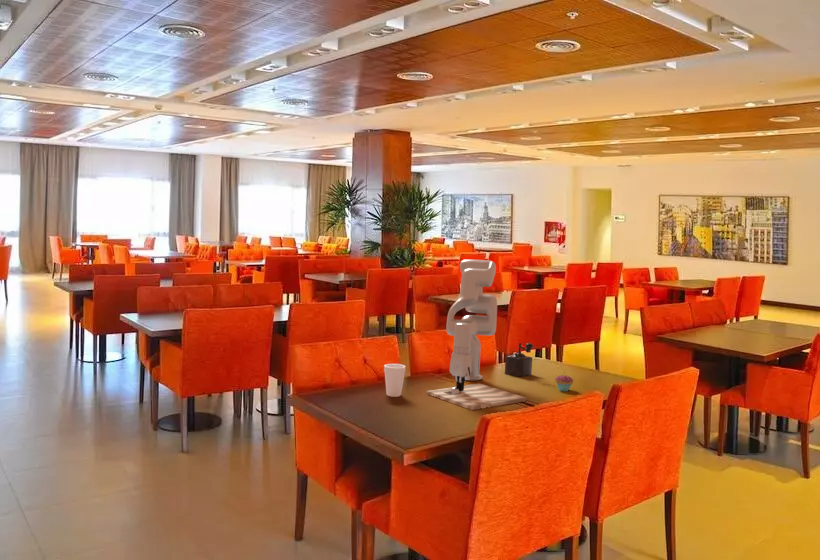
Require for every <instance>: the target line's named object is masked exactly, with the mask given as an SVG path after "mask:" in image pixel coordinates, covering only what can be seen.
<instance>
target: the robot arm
mask: <svg viewBox="0 0 820 560" xmlns="http://www.w3.org/2000/svg"><path fill="white" fill-rule="evenodd" d="M459 269H460V273H461V281H460V289H459V298H458V299H457V300H456V301H455V302H454V303H453V304H452V305H451V307H450V308H449V310H448V313H447V319H446V328H445V330H446V333H447V335H449V336H453V348H452V349H453V351H451V352H452V353H451V356H450V362H449V373H450V374H451V375H452V377H454V379H455V383H456V384H455V385H456V386H455V387H456V388H458V389H459V391H464V386H465V382H466V381H473V382H474V381H480V380H482V379H483V375H481V374H480V366H481V365H480V364H481V351H482V350H481V347H482V344H481V341H480V339H479V337H478V336H494V335H495V334H496V332H497V323H498V322H497V317H498V316H497V315H498V300H497V297H496V296H495V295H494V294H488V293H484V291H483V288H490V287H491V286H492V285H493V283H494V279H495V276H496V272H497V271H496V270H497V266H496V262H494V261H492V260H489V259H486V260H484V259H473V258H472V259H463V260H461V261H460V262H459ZM464 308H465V311H466V312H469V313H473V314H467V315H464V316H463V317H462V318H461V319H457V318H456V319H455V315H456V313H457V312H459V311H460V310H462V309H464ZM475 313H476V314H475ZM477 314H485V315H477Z"/></svg>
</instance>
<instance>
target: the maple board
mask: <svg viewBox="0 0 820 560" xmlns="http://www.w3.org/2000/svg"><path fill="white" fill-rule="evenodd" d="M454 387H455V388H456V386H454ZM454 387H446V388H438V389H433V390H432V389H429V390H426V395H428V396H430V395H431V397H433V396H434V398H436V397H437V398H436V399H439V398H440V399H439V400H443V401H445V402H448V403H450V404H452V405H453V404H454V405H456V406H459V407H463V408H465V409H467V410H471V411H475V409H476V410H480V408H482V409H486V407H488V408H492V407H491V406H493V407H498V406H503V405H510V404H516V403H517V404H518V403H521V402H526V401H527V397H526V396H522V395H519V394H516V393H513V392H509V391H507V390H506V391H505V390H502V389H498V388H496V387H492V386H489V385H486V384H482V383H479V382H478V383H475V384H474V383H473V384H464V391H459V394H455V395H451V393H450V391H451V389H452V388H454Z"/></svg>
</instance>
